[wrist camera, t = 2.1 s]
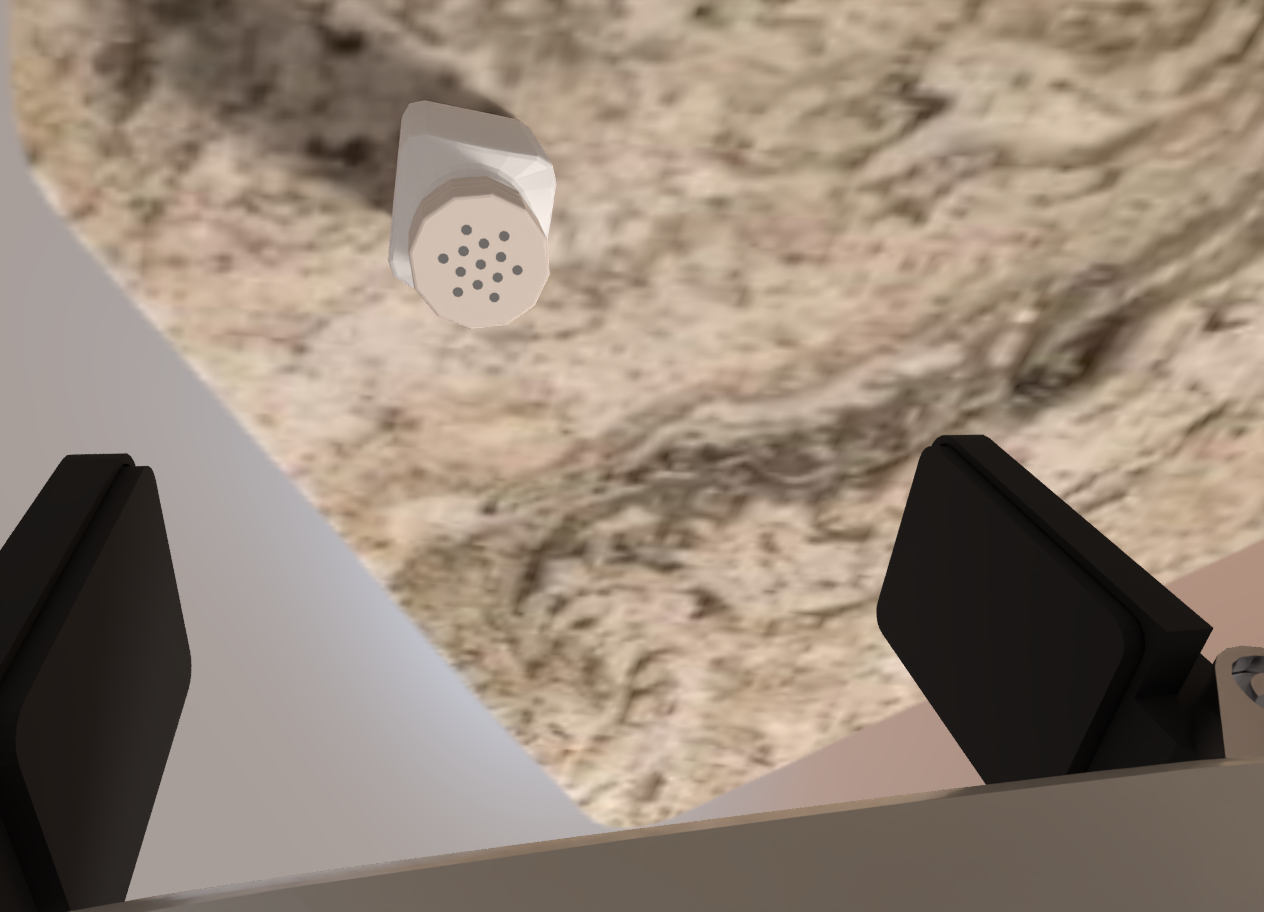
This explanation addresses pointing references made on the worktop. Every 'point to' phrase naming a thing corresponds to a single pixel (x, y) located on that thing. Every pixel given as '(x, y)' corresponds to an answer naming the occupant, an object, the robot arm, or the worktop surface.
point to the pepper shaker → (471, 213)
